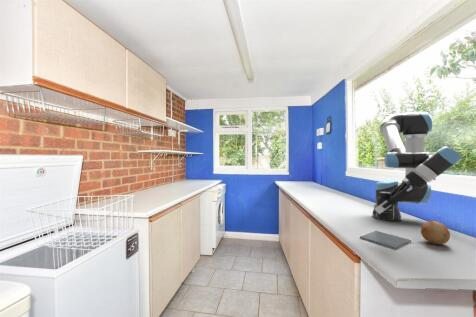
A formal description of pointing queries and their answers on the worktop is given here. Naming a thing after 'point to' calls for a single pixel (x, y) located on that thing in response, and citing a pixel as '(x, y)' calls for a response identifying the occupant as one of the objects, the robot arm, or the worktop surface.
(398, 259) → the worktop surface
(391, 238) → the slate tile
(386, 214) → the supplement bottle
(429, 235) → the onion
